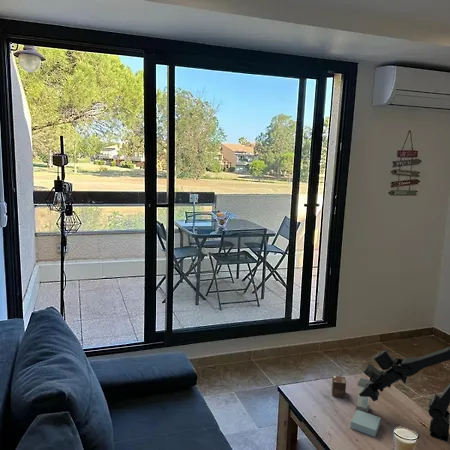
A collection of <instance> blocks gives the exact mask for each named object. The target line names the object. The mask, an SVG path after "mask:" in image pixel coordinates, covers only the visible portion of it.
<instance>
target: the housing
mask: <svg viewBox="0 0 450 450" xmlns="http://www.w3.org/2000/svg"><path fill="white" fill-rule="evenodd" d="M366 384H372V381H370V379H367V378H363V377H360V378H359V380H358V382H357V386H358V393H357V404H356V405H355V410H356V411H357V410H360V411H362V412H365V413H368V414H369V411H370V409H371V404H370V399H371V398H370V397H361V396H360V395H359V394H360V393H361V392H362V391H363V390H364V389H365V387H366Z"/></svg>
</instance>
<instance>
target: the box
mask: <svg viewBox="0 0 450 450" xmlns="http://www.w3.org/2000/svg"><path fill="white" fill-rule="evenodd" d="M331 378H332V381H331V395H332V397H339V398H346V390H347V381H346V377H345V376H337V375H332V377H331Z"/></svg>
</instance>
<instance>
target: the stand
mask: <svg viewBox="0 0 450 450" xmlns="http://www.w3.org/2000/svg"><path fill="white" fill-rule="evenodd" d="M381 421H382V417H380V416H377V415H374V414H371V413H369V412H368V413H365V412H362V411H360V410H356V411H355V413H354V414H353V417H352V419H351V421H350V429H352V430H355V431H358V432H361V433H363V434H365V435H368V436H371V437H374V438H375V437H376V436H377V433H378V431H379V428H380V426H381Z"/></svg>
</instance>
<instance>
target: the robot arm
mask: <svg viewBox="0 0 450 450" xmlns="http://www.w3.org/2000/svg"><path fill="white" fill-rule="evenodd" d="M372 359H373V360H374V361H375V362H376V364H377V365H378V366H379V368H380V369H381V370H379V369H378V368H376V367H375V366H373V364H371V363H368V364H367V365H366V367H365V369H364V370H363V373H364V375H365V376H366V377H368V378H369V380H370V381H372V384H366V387H365V389H364V390H363V391H362V392H361V393H360V394H359V395H360V396H361V397H370V399H371V400H372V401H373V402H376V401H378V399H379V398H380V392H383V391H384V390H385V389H386V388H389V389H390V388H391V387H392V385H393V384H395V383H398V382H399V381H402V383H403V384H407V381H408V378H409V377H410V378H411V377H412V376H414V375H416V374H417V373H419V372H420V371H422V370H423V369H425V368H429V367H432V366H435V365H438V364H441V363H444V362H447V361H450V346H447V347H446V348H443V349H439V350H436V351H434V352H431V353H429V354H425V355H422V356H417V357H415V356H413V357H406V358H398V357H394V358H393V356H391V354H390V352H389V351H388V350H387V349H385V350H381V351H378V353H376V354H375V355H374V356H373V357H372ZM449 407H450V383H449V384H448V385H447V386H446V387H445V389H444V390H443V391H442V393H441V394H439V395H438V394H437V393H434V394H433V396H432V398H430V399H429V403H428V411H427V412H428V415H429V416H430V417H431V418H432V419H430V424H429V432H430V433H429V436H431V437H433V438H436V439H440V440H442V441H444V442H449V434H450V432H449V431H450V411H449V410H448V409H449Z"/></svg>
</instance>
